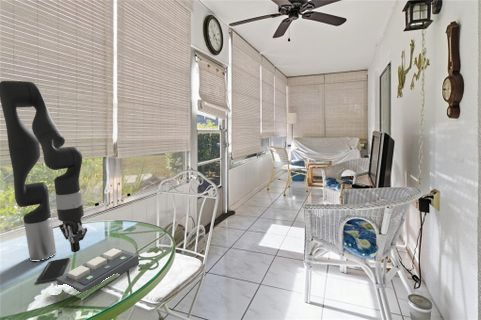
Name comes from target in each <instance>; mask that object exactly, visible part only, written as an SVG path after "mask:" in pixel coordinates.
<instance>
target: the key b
mask: <svg viewBox="0 0 481 320" xmlns="http://www.w3.org/2000/svg"><path fill="white" fill-rule="evenodd" d="M99 256H100V255H98V256H96V257H94V258H93V259H91V260H89V261H86V262H85V263H86V264H87V268H90V269H92V270H97V269H98V268H100V267H102V266H104V265H105V264H107V259H105V258H102V257H99Z"/></svg>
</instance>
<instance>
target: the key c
mask: <svg viewBox="0 0 481 320" xmlns="http://www.w3.org/2000/svg"><path fill="white" fill-rule="evenodd" d="M115 248H116V247H113V248H112V249H110V250H107V251H105V252H104V253H102V254H103V258H105V259H107V260H110V261H112V260H114V259H116V258H118V257H119V256H121V255H122V251H121V250H118V249H119V248H118V249H115Z"/></svg>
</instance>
